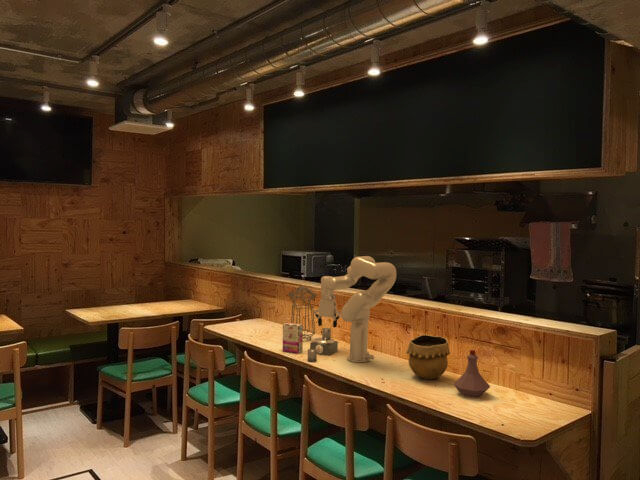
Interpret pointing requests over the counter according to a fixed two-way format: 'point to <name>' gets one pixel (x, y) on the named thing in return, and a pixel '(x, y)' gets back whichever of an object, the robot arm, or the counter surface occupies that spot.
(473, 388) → the flask
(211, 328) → the counter surface
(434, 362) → the clay pot
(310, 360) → the cylinder
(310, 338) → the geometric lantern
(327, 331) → the disc
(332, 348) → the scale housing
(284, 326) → the candy bar box
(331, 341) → the pan
